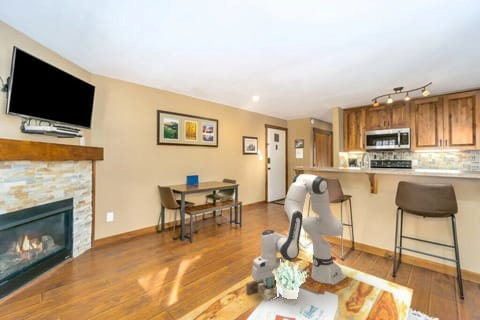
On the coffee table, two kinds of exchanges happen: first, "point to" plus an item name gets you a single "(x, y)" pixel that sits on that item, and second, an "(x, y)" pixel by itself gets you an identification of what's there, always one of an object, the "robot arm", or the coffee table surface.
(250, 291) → the wall
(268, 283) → the dowel
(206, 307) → the coffee table surface
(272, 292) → the block
